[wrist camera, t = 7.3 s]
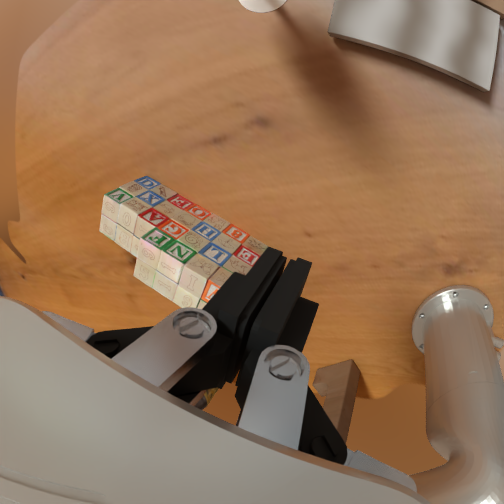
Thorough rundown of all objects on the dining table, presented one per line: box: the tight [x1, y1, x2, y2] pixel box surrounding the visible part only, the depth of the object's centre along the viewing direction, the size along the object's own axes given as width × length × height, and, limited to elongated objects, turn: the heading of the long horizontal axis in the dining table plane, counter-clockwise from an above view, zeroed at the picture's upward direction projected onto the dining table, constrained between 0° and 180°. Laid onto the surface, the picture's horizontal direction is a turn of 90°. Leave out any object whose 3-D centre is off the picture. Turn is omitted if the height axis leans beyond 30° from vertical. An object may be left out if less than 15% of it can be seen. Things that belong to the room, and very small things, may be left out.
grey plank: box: [328, 0, 500, 92], centre depth 22 cm, size 18×10×2 cm, turn 79°
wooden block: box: [313, 359, 360, 444], centre depth 42 cm, size 7×3×15 cm, turn 128°
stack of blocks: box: [100, 176, 268, 309], centre depth 40 cm, size 21×6×12 cm, turn 67°
